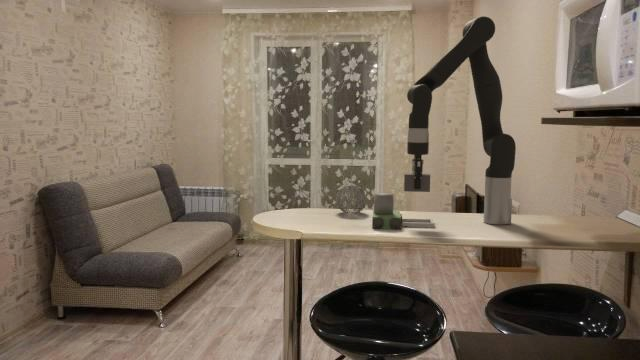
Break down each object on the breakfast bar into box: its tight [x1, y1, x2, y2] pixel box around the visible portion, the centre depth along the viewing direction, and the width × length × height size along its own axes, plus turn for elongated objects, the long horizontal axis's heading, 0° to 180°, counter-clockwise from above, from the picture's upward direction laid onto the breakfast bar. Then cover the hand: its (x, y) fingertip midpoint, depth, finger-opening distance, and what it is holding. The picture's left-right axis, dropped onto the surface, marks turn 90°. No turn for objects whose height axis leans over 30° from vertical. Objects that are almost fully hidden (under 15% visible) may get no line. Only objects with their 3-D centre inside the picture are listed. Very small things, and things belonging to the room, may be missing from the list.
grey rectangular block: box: [403, 172, 431, 193], centre depth 193 cm, size 9×5×6 cm, turn 83°
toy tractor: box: [371, 192, 436, 230], centre depth 194 cm, size 22×18×11 cm
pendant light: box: [335, 139, 367, 215], centre depth 217 cm, size 12×12×30 cm
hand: (416, 187), depth 193 cm, fingers closed on grey rectangular block, 5 cm apart
